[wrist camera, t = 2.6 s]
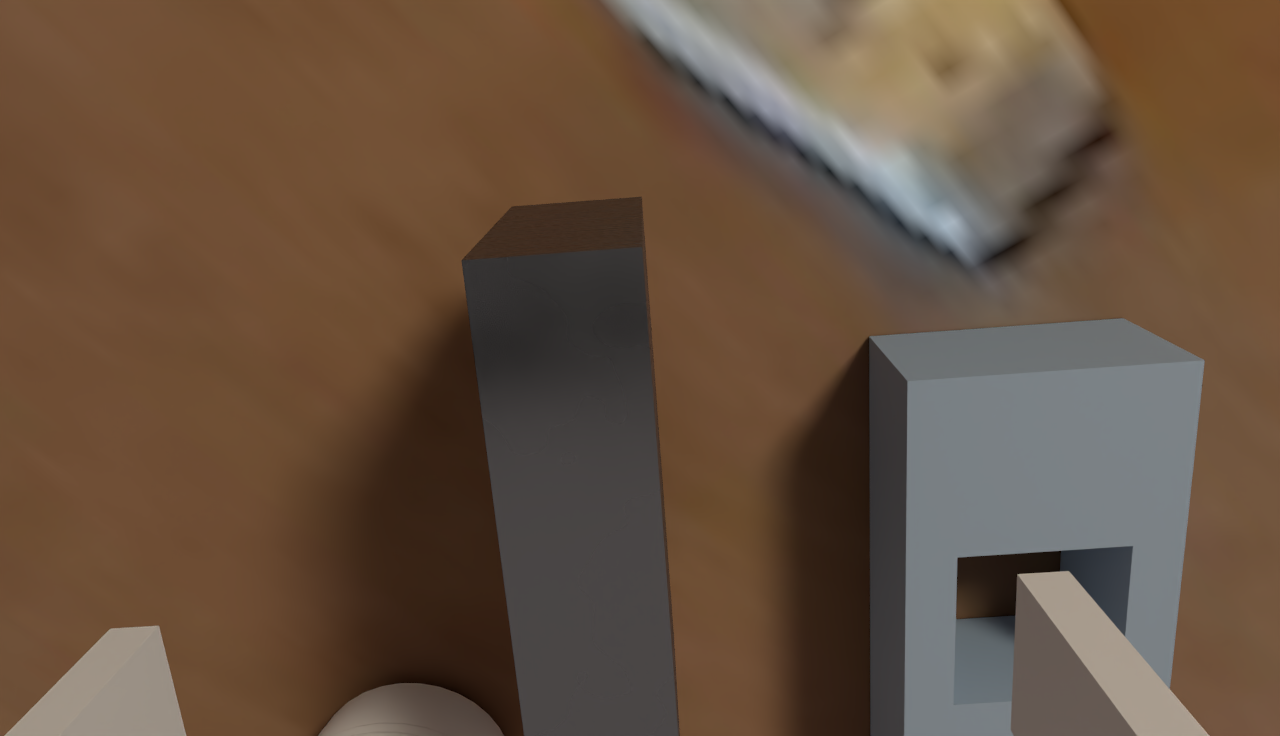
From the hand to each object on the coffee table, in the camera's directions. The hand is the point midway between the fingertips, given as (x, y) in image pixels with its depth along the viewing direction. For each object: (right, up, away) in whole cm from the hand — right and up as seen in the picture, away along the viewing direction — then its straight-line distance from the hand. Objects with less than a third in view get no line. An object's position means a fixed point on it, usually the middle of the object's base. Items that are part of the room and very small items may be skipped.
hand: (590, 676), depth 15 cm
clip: (0, +4, +12) cm, 13 cm away
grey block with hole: (+11, -5, +15) cm, 20 cm away
